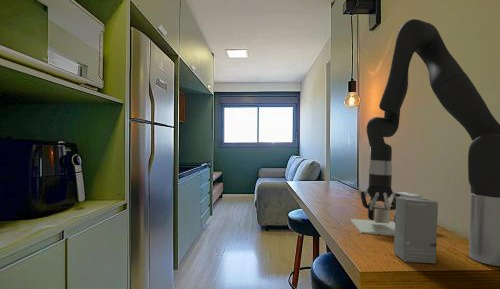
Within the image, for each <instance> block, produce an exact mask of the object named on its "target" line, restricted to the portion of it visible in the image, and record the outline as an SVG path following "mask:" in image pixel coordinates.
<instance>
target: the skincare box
mask: <svg viewBox="0 0 500 289" xmlns="http://www.w3.org/2000/svg"><path fill="white" fill-rule="evenodd" d="M438 206H439V202H438V201H436V200H431V199H426V198H421V199H420V198H408V197H396V214H395V222H394V223H395V236H394V239H393V241H394V242H393V243H394V244H393V254H394V255H395V256H397V257H398V258H399V259H400V260H402V261H403V262H404V263H417V264H418V263H419V264H436V263H437V245H438V244H437V240H438V235H437V234H438V212H439V211H438V209H439V207H438Z"/></svg>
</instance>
